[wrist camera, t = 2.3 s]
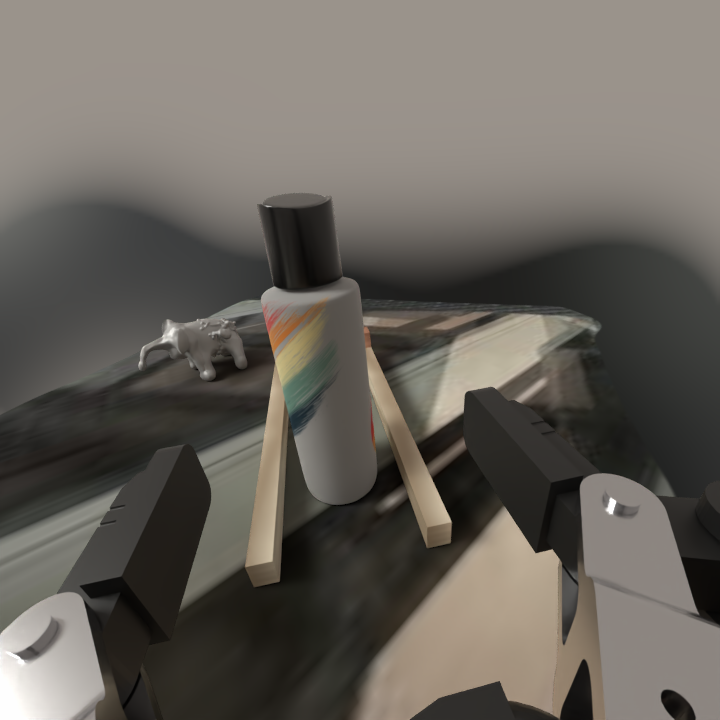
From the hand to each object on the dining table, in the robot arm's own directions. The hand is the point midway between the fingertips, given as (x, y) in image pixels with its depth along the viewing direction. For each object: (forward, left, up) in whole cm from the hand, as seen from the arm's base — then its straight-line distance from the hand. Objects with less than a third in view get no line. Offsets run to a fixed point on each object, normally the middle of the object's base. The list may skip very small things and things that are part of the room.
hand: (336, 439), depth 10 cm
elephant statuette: (-16, +33, -14) cm, 39 cm away
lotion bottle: (0, +11, -14) cm, 18 cm away
